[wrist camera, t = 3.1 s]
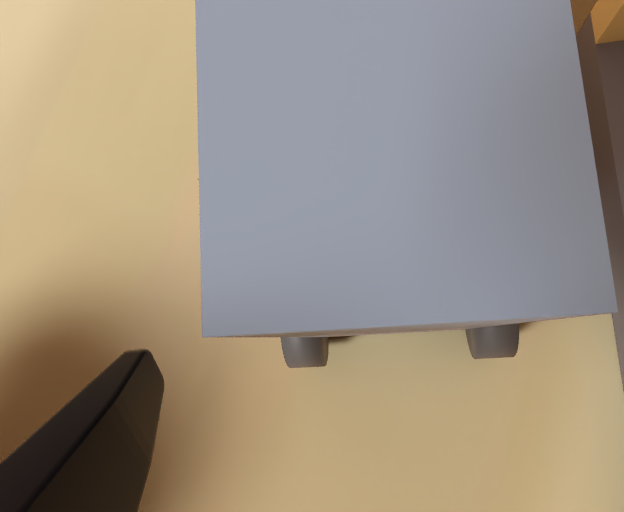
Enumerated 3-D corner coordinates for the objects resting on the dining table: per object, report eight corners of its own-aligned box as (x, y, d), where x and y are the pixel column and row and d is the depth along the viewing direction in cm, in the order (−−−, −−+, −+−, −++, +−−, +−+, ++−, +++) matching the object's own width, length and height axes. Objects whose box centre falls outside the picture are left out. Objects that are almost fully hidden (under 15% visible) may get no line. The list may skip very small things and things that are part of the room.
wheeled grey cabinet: (502, 355, 18) (751, 398, 6) (299, 365, 19) (115, 420, 7) (477, 132, 20) (628, -243, 7) (288, 153, 21) (118, -137, 8)
